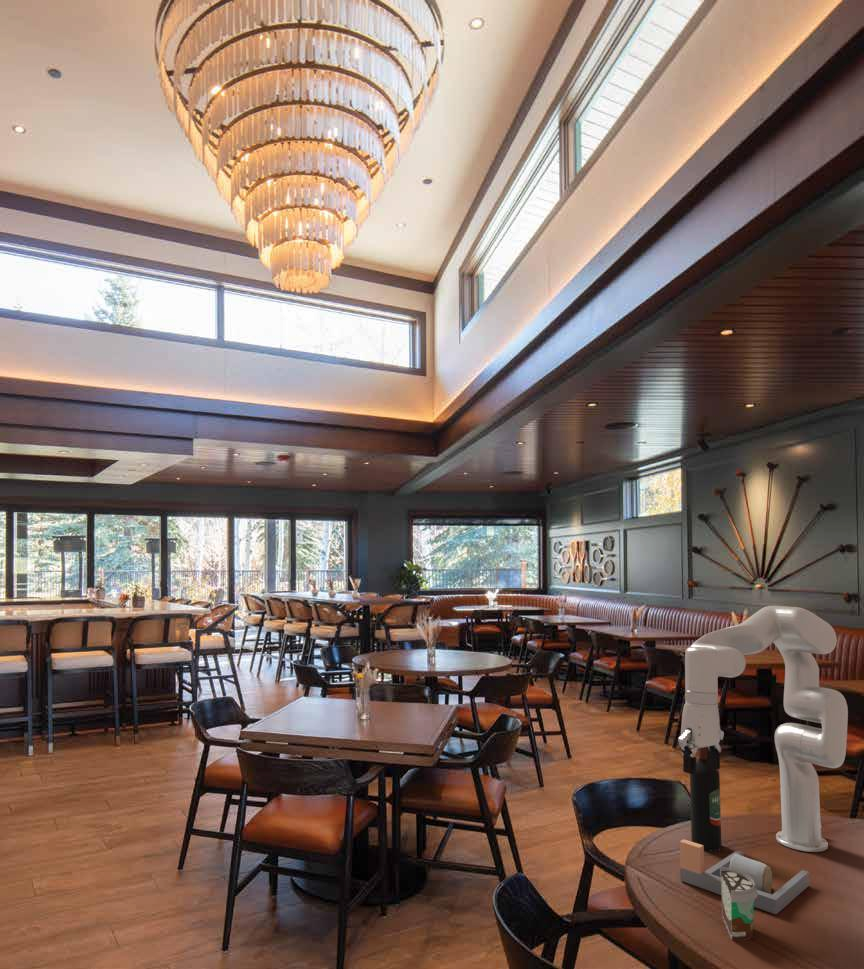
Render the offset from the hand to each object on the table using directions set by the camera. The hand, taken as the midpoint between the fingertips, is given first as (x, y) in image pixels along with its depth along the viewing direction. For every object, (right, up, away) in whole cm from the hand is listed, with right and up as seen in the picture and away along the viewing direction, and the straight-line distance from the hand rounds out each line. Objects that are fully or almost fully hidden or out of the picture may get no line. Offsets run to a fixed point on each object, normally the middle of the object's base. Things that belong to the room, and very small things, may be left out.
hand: (701, 770), depth 172 cm
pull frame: (+9, -25, -3) cm, 27 cm away
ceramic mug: (+9, -26, -7) cm, 28 cm away
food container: (-1, -24, -24) cm, 34 cm away
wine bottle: (+8, -28, +19) cm, 35 cm away
